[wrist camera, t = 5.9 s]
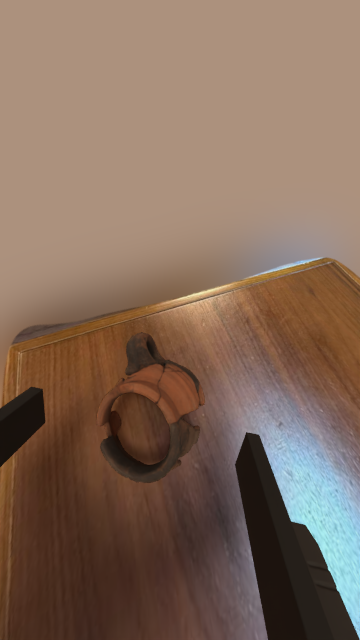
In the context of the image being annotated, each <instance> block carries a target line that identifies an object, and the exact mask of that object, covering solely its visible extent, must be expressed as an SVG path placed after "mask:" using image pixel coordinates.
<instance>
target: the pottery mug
mask: <svg viewBox="0 0 360 640" xmlns="http://www.w3.org/2000/svg"><path fill="white" fill-rule="evenodd" d="M126 353H127V358H128V366H127V368H126V371H125V373H126V375H130V376H129V377H128V378H127V379H126V380H125V379H124V378H121V379H120V380H119V381H118V383H117V384H116V385H115V387H114V388H113V389H112V390H111V391H109V392H108V393H107V394H106V395H105V397H104V398H103V399H102V402H101V404H100V406H99V409H98V411H97V417H96V425H98V426H102V425H104V424H105V430H106V433H107V436H108V438H107V439H104V440H103V441H102V443H101V446H100V448H101V451H102V453H103V455H104V457H105V458H106V460H107V461H108V462H109V464H110V465H111V466H112V468H114V469H115V471H117V472H118V473H119V474H121V475H122V476H124V477H126V478H129V479H130V480H133V481H135V482H142V483H151V482H155V481H158V480H160V479H161V478H163V477H165V476H166V474H167V473H168V472H169V471H170V470H173V469H175V468H176V467H178V466H180V465H181V461H180V460H177V459H178V458H179V457H182V456H184V455H185V454H186V453H188V452H189V451H190V449H191V447H192V446H193V444H195V443H196V442H197V441H198V438H199V433H200V427H199V426H194V427H192V426H191V425H190V424H188V423H187V422H186V421H185V420H184V419H182V416H183V415H186V414H188V413H190V412H192V411H194V410H197V409H198V406H199V403H200V405H201V406H202V405H204V403H205V399H204V393H203V391H202V387H201V385H200V383H199V381H198V379H197V378H196V376H195V375H194V374H193V373H192V372H191V371H190V370H188V369H187V368H185V367H183V366H181V365H178V364H176V363H174V362H172V361H170V360H164V359H163V358H162V357H161V355H160V354H159V352H158V350H157V347H156V345H155V342H154V340H153V338H152V337H151V336H150V335H149V334H146V333H143V332H141V333H138V334H136V335H134V336H132V337H131V338H130V340H129V341H128V343H127V348H126ZM162 366H164V367H162ZM125 393H137V394H141V395H143V396H145V397H147V398H149V399H150V400H152V401H153V402H154V403H155V404H157V406H158V407H159V409H160V410H161V411H162V413H163V415H164V417H165V419H166V421H167V423H168V425H169V428H170V447H169V451H168V453H167V455H166V457H165V458H164V459H163V460H162V461H160V462H158V463H156V464H153V465H147V464H144V463H142V462H140V461H138V460H136V459H135V458H133V457H132V456H130V455H129V454H128V453H127V452H126V451H125V450H124V448H123V446H122V445H121V442H120V440H119V438H118V436H117V432H118V430H119V427H120V425H121V420H120V418H119V415H118V414H117V412H116V411H112V412H111V408H112V405H113V403H114V401H115V400H116V399H117V398H118V397H119V396H121V395H123V394H125ZM197 393H198V394H197Z"/></svg>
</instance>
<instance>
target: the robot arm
mask: <svg viewBox="0 0 360 640" xmlns="http://www.w3.org/2000/svg"><path fill="white" fill-rule="evenodd" d="M44 423H45V413H44V401H43V389H40V388H35V387H30V388H29V389H28V390H26V391H25V392H23V393H22V394H20V395H19V396H17V397H16V398H15V399H13V400H12V401H10V402H9V403H7V404H6V405H5V406H3V407H2V408H0V467H1V466H2V465H3V464H4V463H5V462H6V461H7V460H8V459H9V458H10V457H11V456H12V455H13V454H14V453H15V452H16V451H17V450H18V449H19V448H20V447H21V446H22V445H23V444H24V443H25V442H26V441H27V440H28V439H29V438H30V437H31V436H32V435H33V434H34V433H35V432H36V431H37V430H38V429H39V428H40V427H41V426H42V425H43V424H44ZM235 466H236V472H237V477H238V482H239V487H240V493H241V498H242V503H243V509H244V514H245V519H246V525H247V530H248V535H249V540H250V546H251V551H252V556H253V562H254V567H255V572H256V578H257V583H258V588H259V593H260V599H261V604H262V609H263V615H264V620H265V625H266V631H267V636H268V640H359V637H358V635H357V633H356V630H355V628H354V626H353V623H352V621H351V619H350V617H349V614H348V612H347V610H346V607H345V605H344V603H343V601H342V598H341V596H340V594H339V592H338V591H337V589H336V584H335V582H334V580H333V578H332V575H331V573H330V571H329V570H328V566H327V564H326V562H325V559H324V557H323V555H322V552H321V550H320V548H319V545H318V544H317V542H316V541H315V539H314V538H313V536H312V535H311V533H310V532H309V530H308V529H307V527H306V526H305V525H303V524H299V523H295V522H291V520H290V518H289V515H288V512H287V509H286V507H285V504H284V501H283V499H282V496H281V493H280V490H279V488H278V485H277V482H276V480H275V477H274V474H273V471H272V469H271V466H270V463H269V461H268V458H267V455H266V452H265V450H264V447H263V444H262V442H261V439H260V436H259V435H257V434H252V433H247V432H246V435H245V438H244V441H243V443H242V446H241V449H240V452H239V455H238V458H237V461H236V464H235Z"/></svg>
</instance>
